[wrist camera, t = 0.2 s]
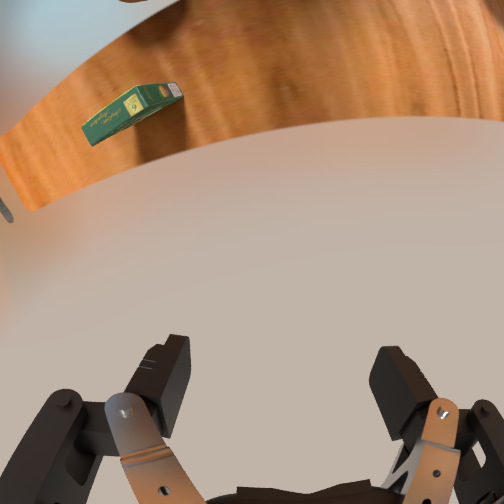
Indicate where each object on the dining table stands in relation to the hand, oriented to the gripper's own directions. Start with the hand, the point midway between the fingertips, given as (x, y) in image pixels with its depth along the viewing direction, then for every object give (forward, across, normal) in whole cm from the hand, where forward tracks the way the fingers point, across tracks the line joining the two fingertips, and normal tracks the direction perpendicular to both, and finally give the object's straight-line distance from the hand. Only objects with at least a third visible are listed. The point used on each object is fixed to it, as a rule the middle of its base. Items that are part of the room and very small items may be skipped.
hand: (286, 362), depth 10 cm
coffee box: (+27, +17, -17) cm, 36 cm away
